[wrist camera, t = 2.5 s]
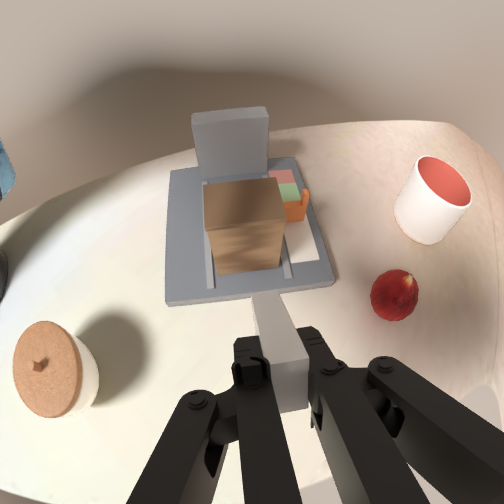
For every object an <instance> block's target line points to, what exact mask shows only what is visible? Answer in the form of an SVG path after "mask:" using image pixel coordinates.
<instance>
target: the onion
mask: <svg viewBox="0 0 504 504" xmlns="http://www.w3.org/2000/svg"><path fill="white" fill-rule="evenodd" d="M418 291H419V289H418V285H417V282H416V280H415V279H414V278H413V276H412V274H409V273H408V272H406V271H403V270H390V271H387V272H386V273H384V274H382V275H381V276H379V277H378V278H377V280H376V281H375V282H374V284H373V286H372V290H371V294H370V297H371V304H372V306H373V309H374V311H375V312H376V313H377V314H378V315H379V316H380V317H381V318H384V319H386V320H389V321H399V320H402V319H404V318H405V317H407V316H408V315H410V314H411V313H412V312H413V310H414V308H415V306H416V304H417V301H418Z"/></svg>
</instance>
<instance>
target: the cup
mask: <svg viewBox="0 0 504 504" xmlns="http://www.w3.org/2000/svg"><path fill="white" fill-rule="evenodd" d="M471 202H472V194H471V190H470V188H469V186H468V184H467V182H466V180H465V179H464V178H463V176H462V175H461V174H460V173H459V172H458V171H457V170H456V169H455V168H454V167H452V166H451V165H450V164H448V163H447V162H445V161H443V160H441V159H439V158H437V157H433V156H421V157H419V158H418V159H417V161H416V162H415V164H414V166H413V168H412V170H411V172H410V174H409V176H408V178H407V180H406V182H405V184H404V186H403V188H402V189H401V191H400V193H399V195H398V197H397V199H396V201H395V204H394V215H395V219H396V221H397V223H398V225H399V227H400V228H401V229H402V231H403V232H404V233H405V234H406V235H407V236H408V237H409V238H411V239H412V240H414V241H416V242H418V243H421V244H425V245H433V244H436V243H438V242H440V241H441V240H442V239H443V238H444V237H445V235H446V234H447V233H448V232H449V231H450V230H451V228H452V227H453V226H454V225H455V224H456V222H457V221H458V220H459V219H460V217H461V216H462V215H463V214H464V212H465V211H466V210H467V209H468V207H469V206H470V205H471Z"/></svg>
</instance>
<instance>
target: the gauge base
mask: <svg viewBox="0 0 504 504" xmlns="http://www.w3.org/2000/svg"><path fill="white" fill-rule="evenodd" d="M191 119H192V120H191V127H192V132H193V137H194V143H195V149H196V154H197V159H198V164H199V167H192V168H185V169H179V170H173V171H171V172H170V183H169V196H168V210H167V228H166V254H165V303H166V304H167V305H168V306H169V307H173V306H184V305H193V304H203V303H212V302H220V301H229V300H237V299H245V298H251V293H257V292H265V291H272V290H278V292H279V294H282V293H289V292H295V291H302V290H308V289H315V288H321V287H327V286H332V284H333V283H334V281H335V278H334V275H333V272H332V268H331V265H330V261H329V258H328V255H327V251H326V248H325V245H324V242H323V239H322V236H321V232H320V229H319V226H318V223H317V220H316V217H315V214H314V211H313V208H312V205H311V203H310V200H308V205H307V209H306V213H305V218H304V221H298V222H289V223H285V227H284V234H283V240H282V246H281V253H280V259H279V265H278V268H274V269H266V270H258V271H250V272H242V273H234V274H226V275H218V273H217V269H216V265H215V261H214V257H213V254H212V250H211V246H210V242H209V238H208V234H207V232H206V231H205V225H204V202H203V185H207V184H214V183H222V182H231V181H240V180H249V179H259V178H270V177H276V179H277V182H278V186H279V189H280V193H281V197H282V200H283V202H287V201H298V200H301V195H302V190H303V189H306V188H305V186H304V183H303V180H302V177H301V175H300V172H299V169H298V167H297V164H296V161H295V159H294V157H289V158H274V159H267V158H268V133H269V115H268V113H267V110H266V107H265V106H259V107H246V108H234V109H224V110H215V111H207V112H200V113H193V114H192V118H191Z"/></svg>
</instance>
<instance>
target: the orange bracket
mask: <svg viewBox="0 0 504 504" xmlns="http://www.w3.org/2000/svg"><path fill="white" fill-rule="evenodd" d="M309 196H310V194H309V192H308V189H303V190H302V195H301V200H298V201H287V202H283V204H284V208H285V211H286V215H287V222H285V223H289V222H298V221H304V218H305V213H306V209H307V205H308V200H309Z"/></svg>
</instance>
